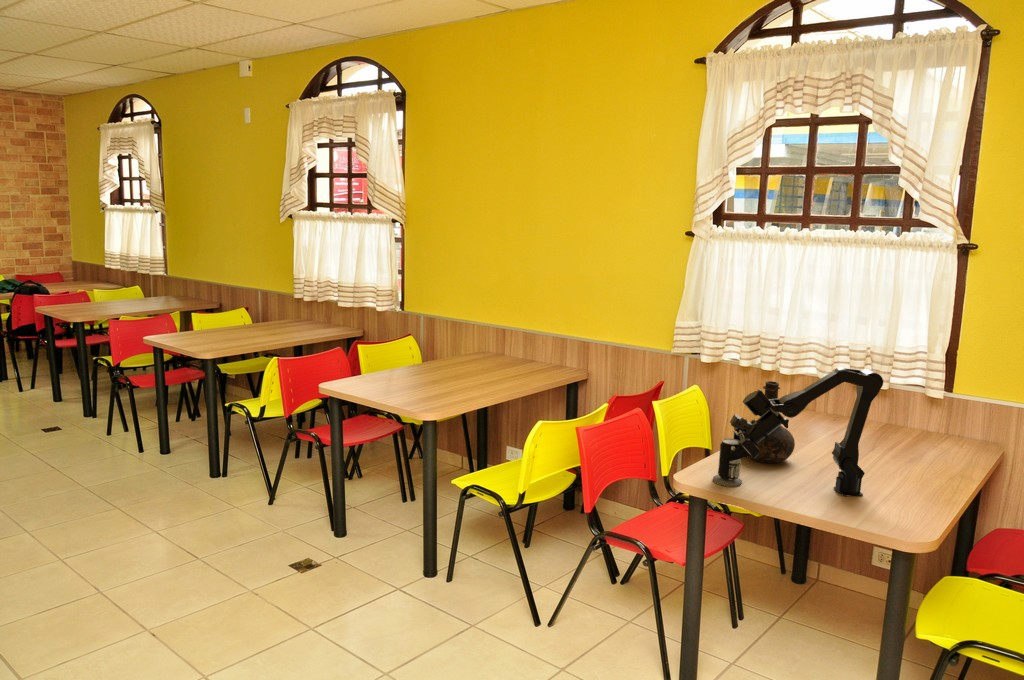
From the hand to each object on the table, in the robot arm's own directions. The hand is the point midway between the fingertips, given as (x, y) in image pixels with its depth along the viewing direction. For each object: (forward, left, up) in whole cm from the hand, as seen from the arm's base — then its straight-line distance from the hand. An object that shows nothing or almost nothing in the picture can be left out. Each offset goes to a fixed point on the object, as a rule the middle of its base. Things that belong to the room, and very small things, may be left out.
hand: (725, 457), depth 246 cm
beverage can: (-1, 0, -7) cm, 7 cm away
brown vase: (-24, -22, -8) cm, 34 cm away
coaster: (-1, 0, -8) cm, 8 cm away
